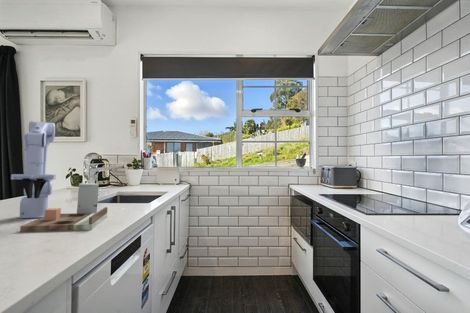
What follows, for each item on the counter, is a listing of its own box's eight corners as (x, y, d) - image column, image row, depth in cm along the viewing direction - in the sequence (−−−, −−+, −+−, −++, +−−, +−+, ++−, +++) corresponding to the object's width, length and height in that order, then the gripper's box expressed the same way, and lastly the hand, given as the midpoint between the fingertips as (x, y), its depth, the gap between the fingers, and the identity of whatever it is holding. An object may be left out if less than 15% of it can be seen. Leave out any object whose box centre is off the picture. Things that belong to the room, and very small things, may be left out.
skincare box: (76, 217, 117) (77, 184, 118) (77, 215, 123) (78, 183, 123) (97, 216, 121) (98, 183, 122) (97, 213, 127) (98, 182, 127)
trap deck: (20, 232, 93) (20, 219, 93) (49, 218, 114) (50, 208, 114) (91, 229, 98) (92, 217, 98) (107, 217, 119) (107, 207, 119)
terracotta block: (44, 220, 102) (44, 210, 102) (49, 218, 106) (49, 208, 106) (55, 220, 103) (56, 209, 103) (60, 217, 107) (60, 208, 107)
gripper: (6, 163, 98) (5, 199, 98) (50, 163, 101) (49, 199, 101) (17, 162, 105) (16, 197, 105) (58, 163, 108) (57, 196, 108)
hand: (33, 198), depth 103 cm, fingers closed
